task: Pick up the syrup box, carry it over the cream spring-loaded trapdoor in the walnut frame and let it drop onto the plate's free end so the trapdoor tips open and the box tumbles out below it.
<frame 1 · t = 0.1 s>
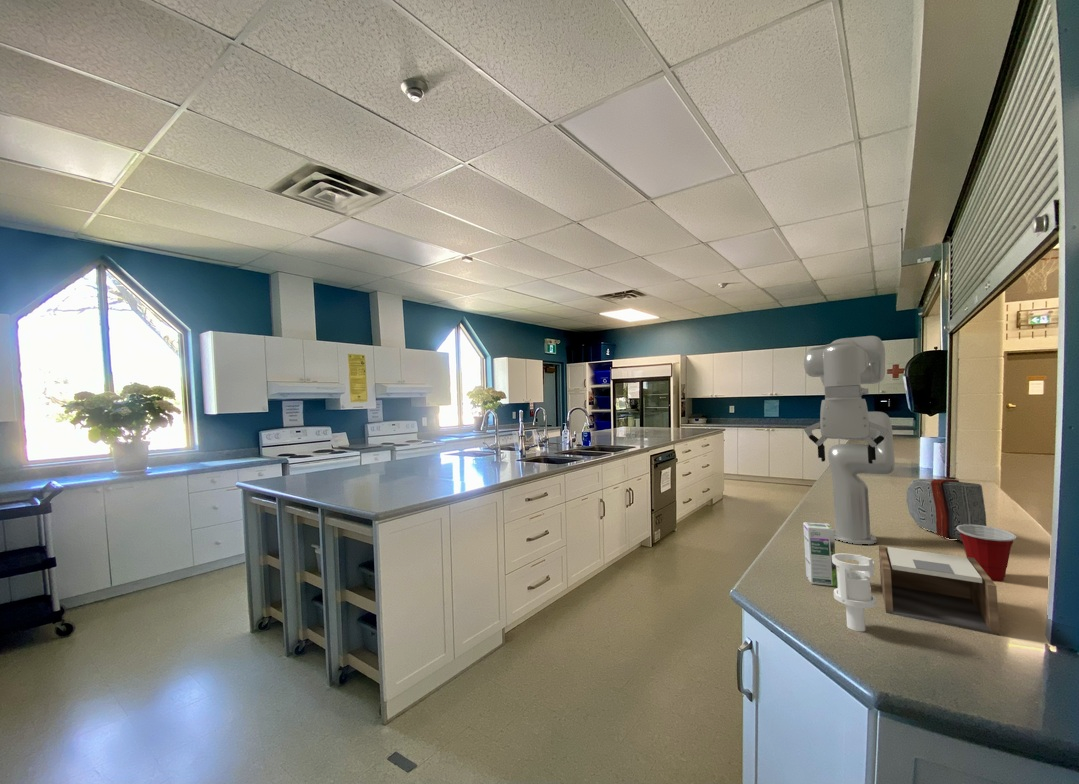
hand: (846, 461, 107), 31 cm above the counter, tool pointing down, fingers open, 9 cm apart
trapdoor: (929, 562, 96), point 10 cm above the counter, hinge at 0.0°
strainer: (856, 628, 87), on the counter
plastic cup: (988, 577, 110), on the counter
syrup box: (821, 582, 110), on the counter
trapdoor frame: (932, 606, 95), on the counter
decorative stone tablet: (944, 535, 144), on the counter
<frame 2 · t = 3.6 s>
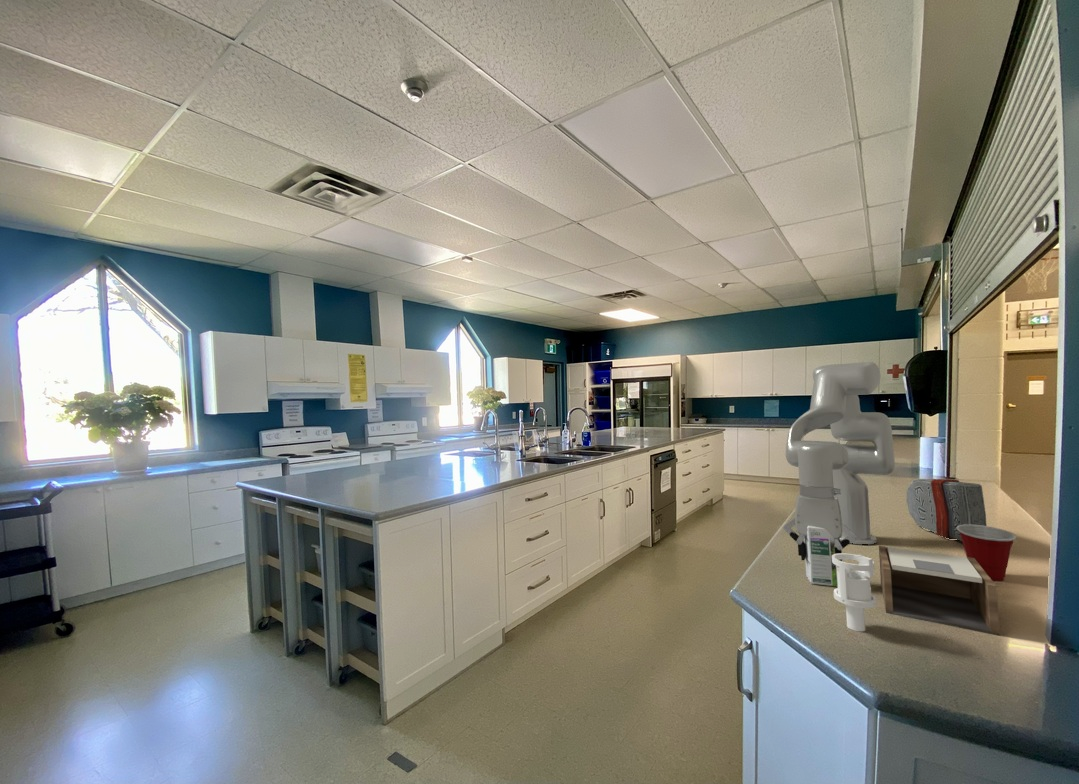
hand: (819, 560, 110), 5 cm above the counter, tool pointing down, fingers closed on syrup box, 6 cm apart
syrup box: (821, 582, 110), on the counter, touching gripper
everything else where it was.
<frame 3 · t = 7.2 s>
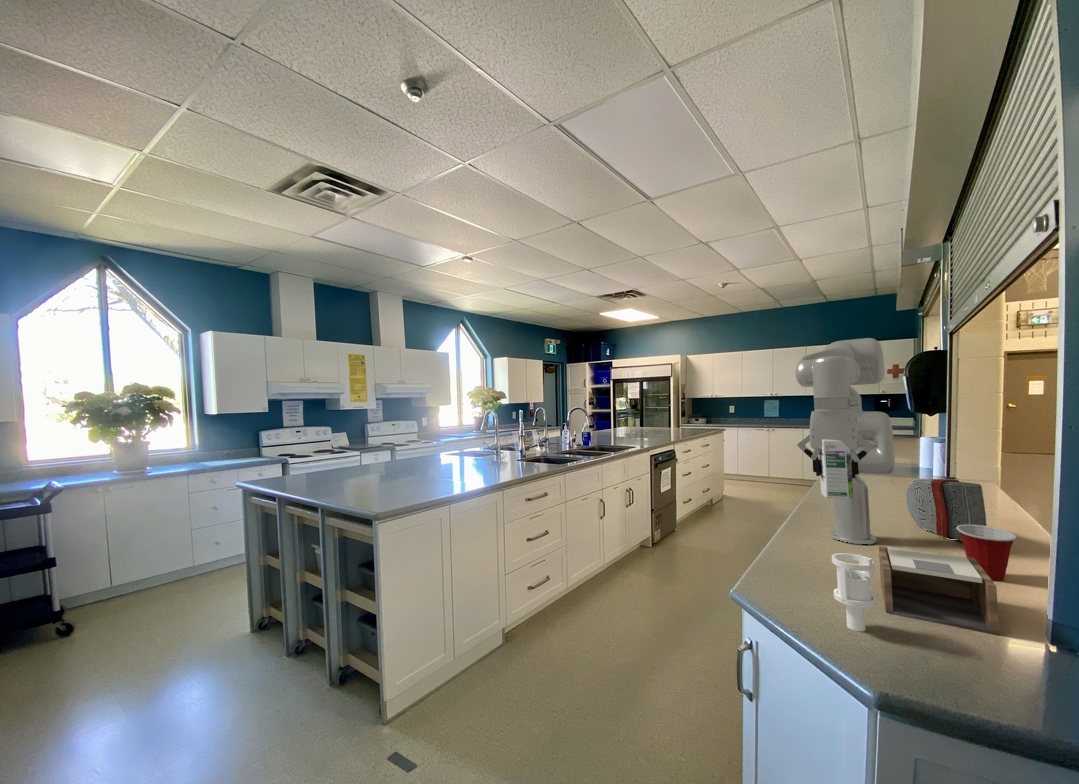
hand: (835, 475, 107), 28 cm above the counter, tool pointing down, fingers closed on syrup box, 6 cm apart
syrup box: (836, 497, 107), point 22 cm above the counter, touching gripper
everything else where it was.
when the fingers open (17 cm above the counter, at t = 11.1 s): syrup box drops 8 cm, resting on trapdoor frame.
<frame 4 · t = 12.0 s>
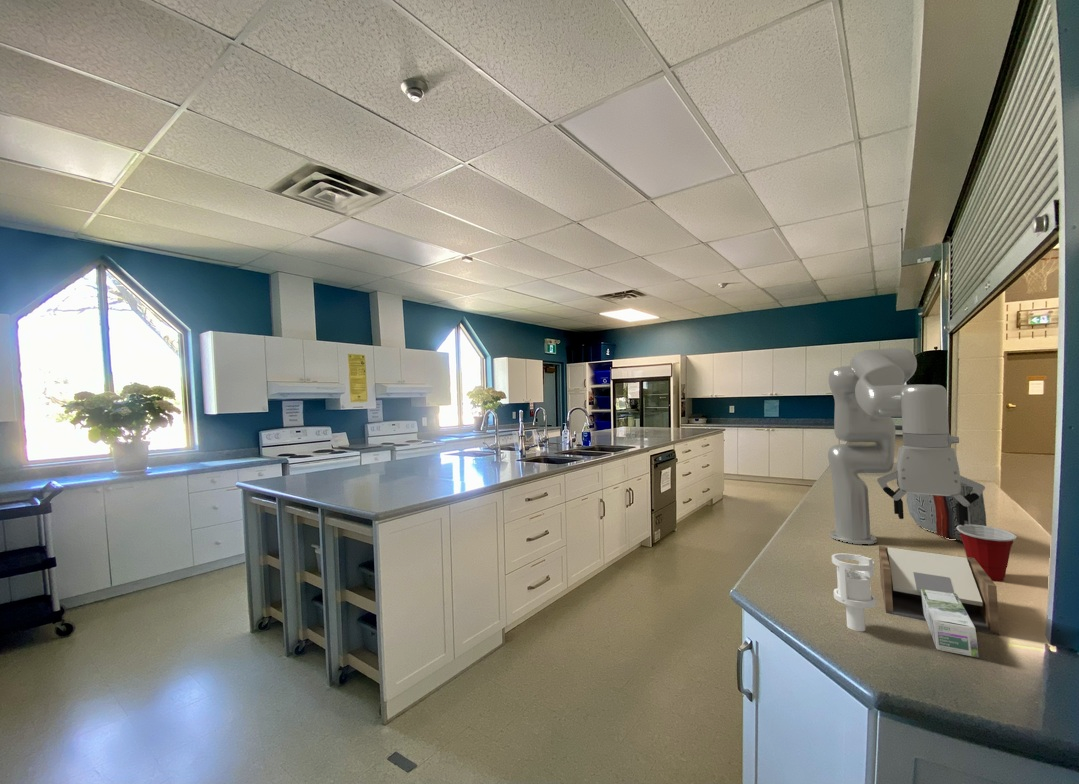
hand: (929, 520, 92), 20 cm above the counter, tool pointing down, fingers open, 9 cm apart
trapdoor: (930, 573, 96), point 7 cm above the counter, hinge at -21.1°
syrup box: (939, 603, 89), point 4 cm above the counter, touching trapdoor frame
everything else where it was.
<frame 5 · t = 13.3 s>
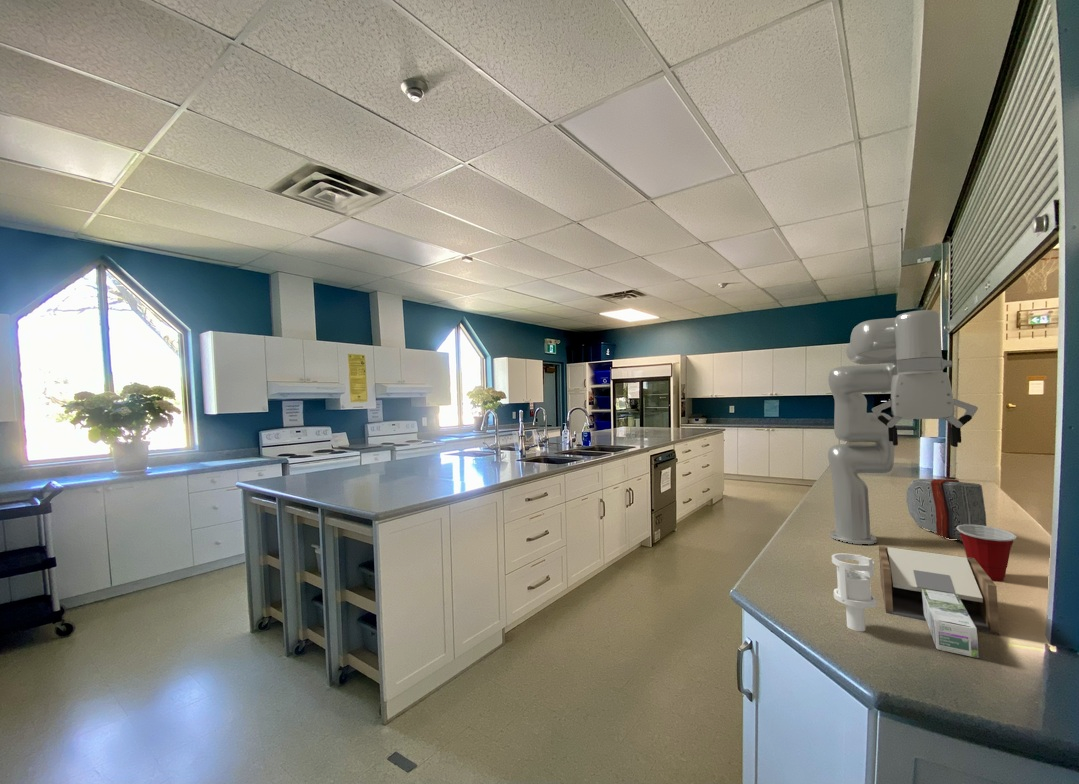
hand: (923, 445, 93), 36 cm above the counter, tool pointing down, fingers open, 9 cm apart
trapdoor: (930, 571, 96), point 7 cm above the counter, hinge at -17.3°
everything else where it was.
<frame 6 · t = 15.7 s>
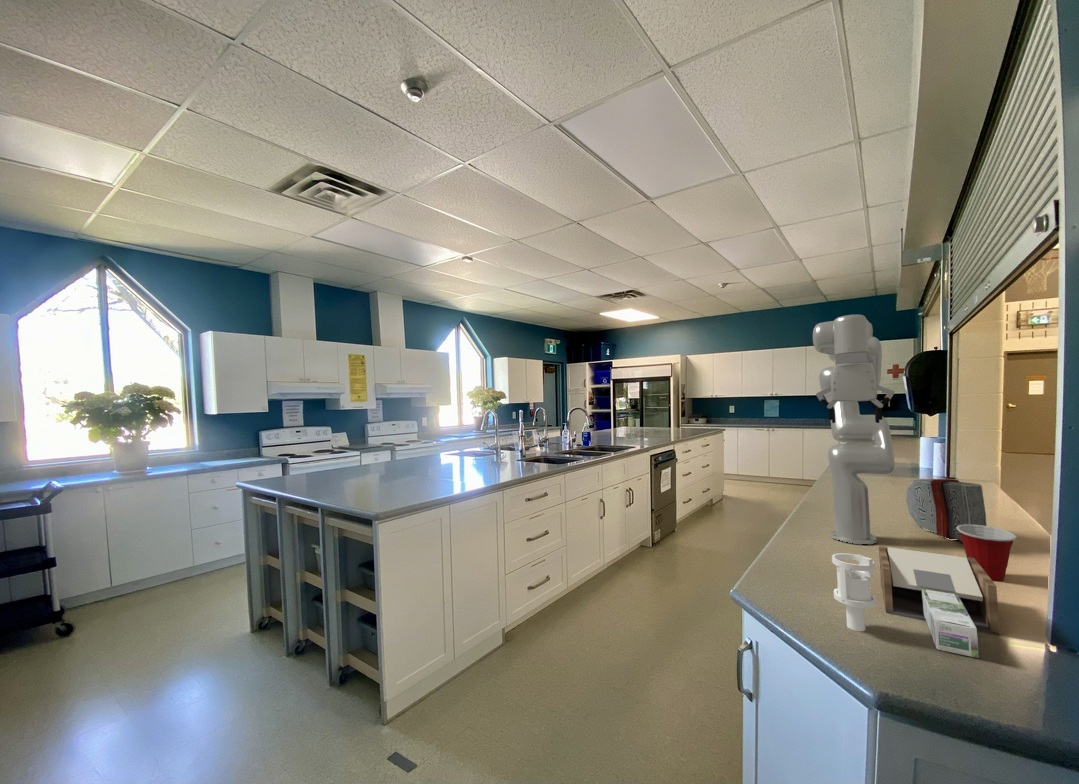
hand: (855, 422, 117), 40 cm above the counter, tool pointing down, fingers open, 9 cm apart
trapdoor: (930, 571, 96), point 8 cm above the counter, hinge at -16.0°
everything else where it was.
at the end: syrup box point 3.6 cm above the counter; syrup box inside the target area on the trapdoor frame (0.8 cm from its centre), point 3.6 cm above the trapdoor frame's base; the gripper is holding nothing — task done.
